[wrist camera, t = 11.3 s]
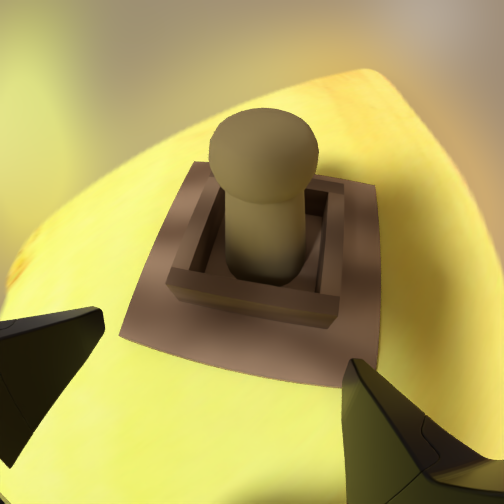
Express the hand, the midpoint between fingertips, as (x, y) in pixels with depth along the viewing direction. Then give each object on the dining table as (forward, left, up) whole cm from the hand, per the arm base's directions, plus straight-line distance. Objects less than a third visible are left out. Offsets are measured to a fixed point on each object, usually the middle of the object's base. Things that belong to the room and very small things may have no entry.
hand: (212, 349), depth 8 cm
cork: (+9, 0, -9) cm, 13 cm away
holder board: (+9, 0, -10) cm, 13 cm away
